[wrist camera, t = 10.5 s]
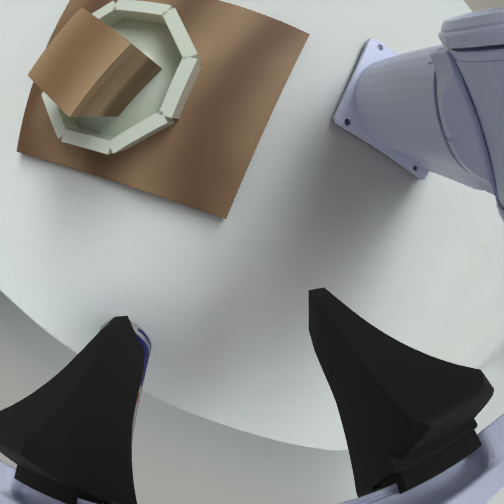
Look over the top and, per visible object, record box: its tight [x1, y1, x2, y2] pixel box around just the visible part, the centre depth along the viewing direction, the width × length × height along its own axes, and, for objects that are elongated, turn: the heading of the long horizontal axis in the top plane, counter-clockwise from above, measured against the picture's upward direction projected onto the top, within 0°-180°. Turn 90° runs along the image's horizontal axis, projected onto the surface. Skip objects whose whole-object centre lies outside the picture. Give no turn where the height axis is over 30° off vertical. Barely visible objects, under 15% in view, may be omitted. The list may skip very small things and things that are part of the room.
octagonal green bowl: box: [41, 0, 201, 155], centre depth 12 cm, size 10×10×2 cm
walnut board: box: [17, 0, 310, 219], centre depth 14 cm, size 18×14×1 cm
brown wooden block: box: [28, 7, 162, 117], centre depth 10 cm, size 4×4×6 cm
